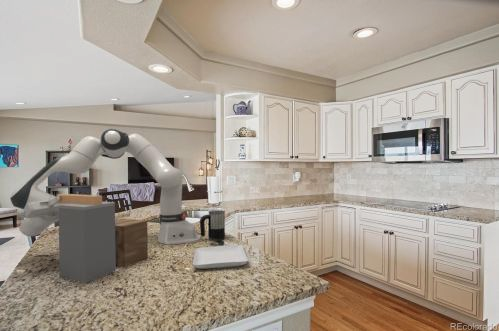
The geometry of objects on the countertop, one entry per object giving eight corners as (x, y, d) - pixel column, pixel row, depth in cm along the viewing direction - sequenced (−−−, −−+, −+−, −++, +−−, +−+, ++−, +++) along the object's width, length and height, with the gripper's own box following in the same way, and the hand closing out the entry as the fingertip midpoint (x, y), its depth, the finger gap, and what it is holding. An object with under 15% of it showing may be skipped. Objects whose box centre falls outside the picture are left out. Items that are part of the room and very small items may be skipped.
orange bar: (56, 202, 104) (56, 194, 104) (64, 201, 107) (64, 193, 107) (94, 205, 95) (94, 196, 95) (102, 203, 98) (102, 195, 98)
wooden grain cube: (100, 262, 111) (99, 223, 111) (124, 253, 122) (124, 218, 122) (124, 267, 105) (124, 226, 105) (147, 257, 116) (147, 220, 116)
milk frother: (218, 235, 151) (218, 209, 151) (237, 241, 140) (236, 212, 140) (197, 240, 141) (196, 212, 141) (215, 247, 130) (214, 216, 130)
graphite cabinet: (59, 277, 96) (58, 205, 96) (91, 265, 107) (90, 200, 107) (85, 283, 91) (84, 207, 91) (115, 270, 101) (114, 202, 101)
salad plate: (192, 273, 99) (192, 264, 99) (195, 254, 120) (195, 247, 120) (249, 269, 102) (248, 260, 102) (242, 251, 123) (242, 244, 123)
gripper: (14, 210, 100) (32, 192, 95) (70, 203, 119) (87, 188, 114) (19, 225, 99) (38, 208, 94) (75, 215, 118) (93, 201, 113)
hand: (65, 197), depth 104 cm, fingers closed on orange bar, 3 cm apart
